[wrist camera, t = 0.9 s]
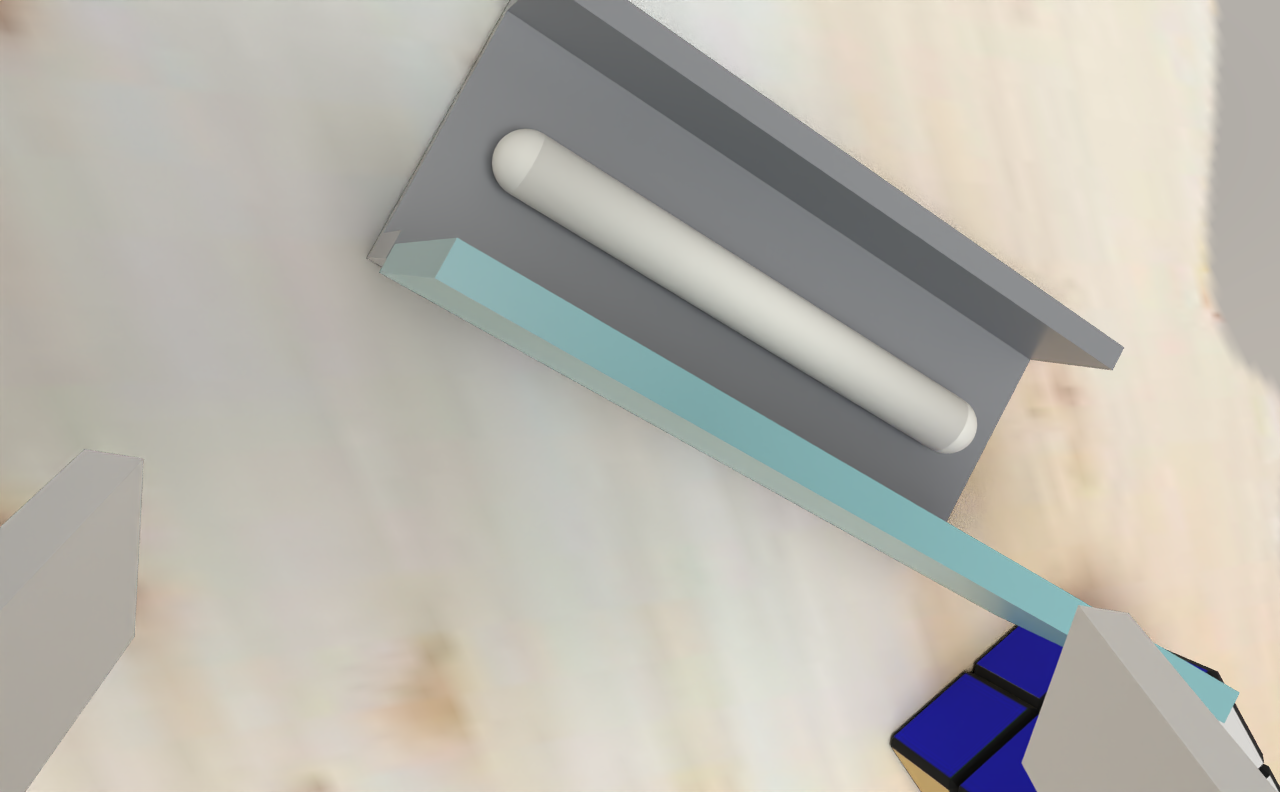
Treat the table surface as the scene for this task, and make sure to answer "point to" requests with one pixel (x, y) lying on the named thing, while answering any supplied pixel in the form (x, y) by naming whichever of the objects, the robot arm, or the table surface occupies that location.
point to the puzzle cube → (1003, 722)
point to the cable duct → (735, 232)
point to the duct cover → (743, 439)
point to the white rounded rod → (728, 289)
